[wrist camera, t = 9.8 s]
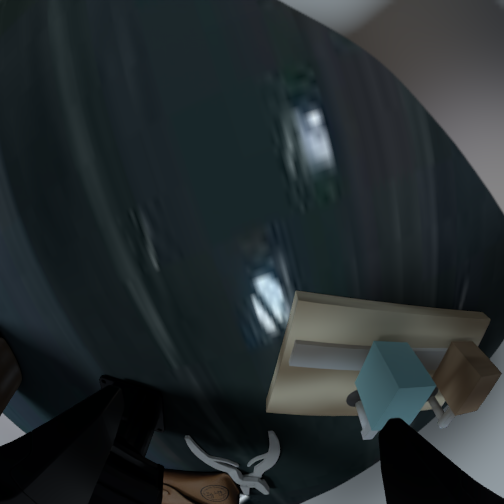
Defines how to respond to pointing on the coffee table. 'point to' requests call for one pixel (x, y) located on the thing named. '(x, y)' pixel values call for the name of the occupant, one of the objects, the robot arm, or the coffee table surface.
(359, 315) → the beige board with blocks
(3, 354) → the plant pot
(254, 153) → the coffee table surface
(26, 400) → the coffee table surface
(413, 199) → the coffee table surface
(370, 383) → the teal block
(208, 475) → the sunglasses case
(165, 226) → the coffee table surface
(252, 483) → the pliers
